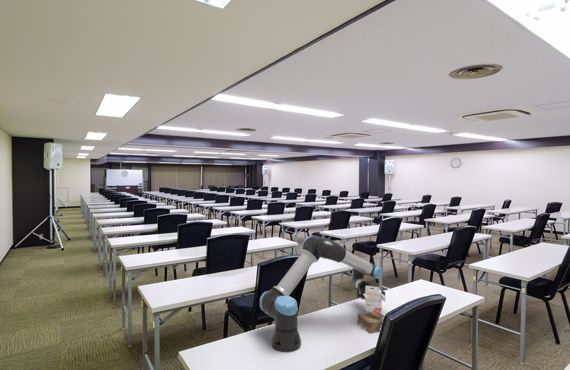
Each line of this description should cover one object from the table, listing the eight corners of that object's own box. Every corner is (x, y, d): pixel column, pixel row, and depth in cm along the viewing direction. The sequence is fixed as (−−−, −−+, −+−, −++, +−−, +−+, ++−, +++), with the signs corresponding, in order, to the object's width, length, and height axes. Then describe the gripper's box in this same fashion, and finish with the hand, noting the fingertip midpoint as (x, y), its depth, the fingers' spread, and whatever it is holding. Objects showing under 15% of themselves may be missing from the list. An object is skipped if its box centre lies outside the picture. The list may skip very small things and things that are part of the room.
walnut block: (369, 334, 178) (369, 323, 178) (357, 324, 190) (357, 314, 190) (389, 330, 182) (389, 320, 181) (376, 321, 194) (376, 311, 194)
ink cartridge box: (382, 310, 186) (381, 285, 186) (380, 313, 182) (380, 287, 181) (367, 307, 190) (366, 283, 190) (365, 310, 186) (364, 285, 185)
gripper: (380, 291, 205) (395, 305, 182) (346, 293, 203) (357, 307, 180) (380, 280, 204) (395, 292, 182) (346, 281, 203) (357, 293, 180)
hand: (376, 299), depth 181 cm, fingers closed on ink cartridge box, 9 cm apart
